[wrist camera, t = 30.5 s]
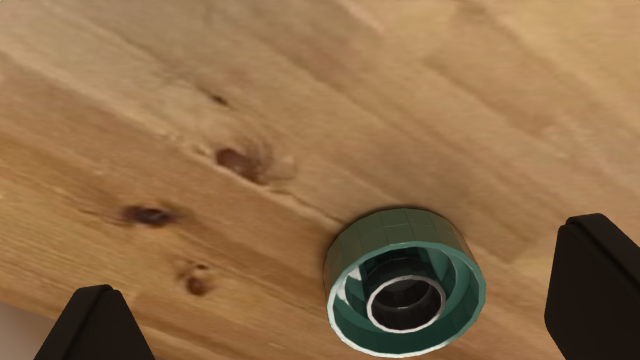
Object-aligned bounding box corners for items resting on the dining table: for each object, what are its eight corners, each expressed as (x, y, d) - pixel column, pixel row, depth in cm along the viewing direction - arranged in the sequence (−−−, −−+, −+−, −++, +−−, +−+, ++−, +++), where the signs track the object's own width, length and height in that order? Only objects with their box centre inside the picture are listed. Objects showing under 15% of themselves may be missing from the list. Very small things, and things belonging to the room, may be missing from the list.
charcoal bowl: (363, 298, 45) (370, 338, 41) (356, 245, 41) (363, 282, 37) (431, 289, 45) (445, 327, 40) (430, 234, 41) (446, 270, 37)
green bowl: (333, 322, 47) (337, 366, 43) (313, 216, 40) (316, 255, 35) (463, 304, 47) (482, 346, 42) (466, 194, 40) (490, 230, 35)
